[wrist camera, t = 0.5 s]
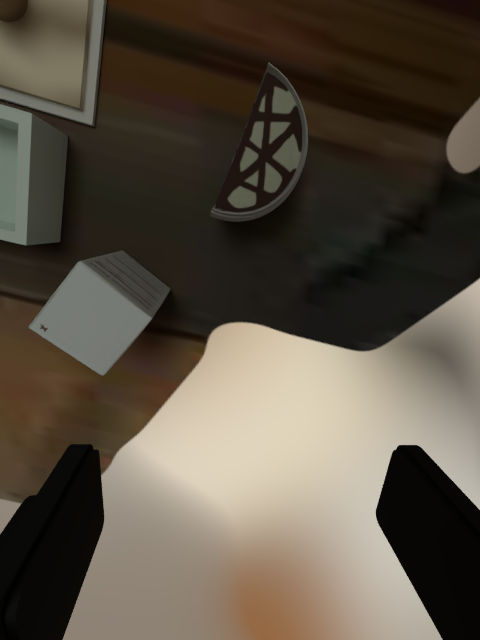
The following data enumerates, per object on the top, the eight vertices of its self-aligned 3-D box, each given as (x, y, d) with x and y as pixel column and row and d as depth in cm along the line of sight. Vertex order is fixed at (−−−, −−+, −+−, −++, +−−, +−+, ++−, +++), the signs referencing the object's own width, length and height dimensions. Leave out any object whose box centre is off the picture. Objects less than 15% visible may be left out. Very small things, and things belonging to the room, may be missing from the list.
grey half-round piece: (257, 239, 36) (274, 245, 26) (210, 218, 34) (209, 215, 25) (303, 134, 33) (341, 96, 23) (253, 106, 32) (271, 54, 22)
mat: (-91, -153, 24) (-99, -163, 23) (113, -72, 26) (111, -79, 26) (-80, 75, 28) (-86, 72, 28) (94, 127, 31) (92, 125, 30)
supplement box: (136, 331, 38) (101, 380, 26) (86, 293, 36) (22, 327, 24) (173, 289, 37) (154, 319, 25) (123, 247, 35) (76, 258, 23)
